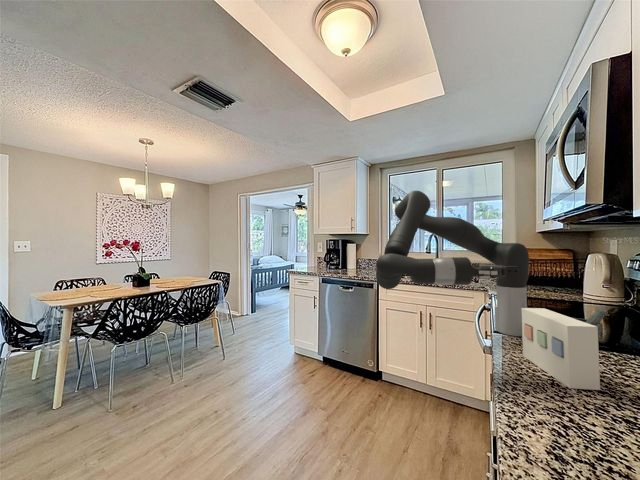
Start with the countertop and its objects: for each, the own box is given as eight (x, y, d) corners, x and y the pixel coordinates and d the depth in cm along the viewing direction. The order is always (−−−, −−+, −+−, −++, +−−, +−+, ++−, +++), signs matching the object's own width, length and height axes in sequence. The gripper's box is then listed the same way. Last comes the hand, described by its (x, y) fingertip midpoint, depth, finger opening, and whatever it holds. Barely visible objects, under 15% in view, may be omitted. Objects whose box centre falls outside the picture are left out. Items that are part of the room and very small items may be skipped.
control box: (569, 388, 63) (567, 325, 64) (523, 355, 82) (521, 307, 82) (600, 390, 62) (597, 326, 63) (545, 356, 81) (544, 308, 81)
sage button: (544, 347, 71) (544, 334, 71) (537, 342, 74) (536, 330, 74) (553, 347, 71) (553, 334, 71) (545, 343, 74) (545, 331, 74)
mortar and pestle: (562, 342, 92) (560, 306, 93) (562, 335, 99) (561, 302, 100) (610, 350, 85) (609, 311, 85) (607, 342, 92) (606, 306, 92)
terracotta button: (530, 339, 77) (530, 327, 77) (524, 335, 80) (524, 324, 80) (539, 339, 77) (538, 328, 77) (532, 336, 80) (531, 324, 80)
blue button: (560, 356, 65) (560, 342, 65) (551, 351, 68) (551, 338, 69) (570, 356, 65) (569, 342, 65) (560, 351, 68) (560, 338, 68)
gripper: (457, 258, 70) (533, 257, 68) (442, 256, 83) (506, 255, 81) (458, 288, 70) (534, 288, 67) (443, 281, 83) (507, 281, 80)
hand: (519, 270), depth 74 cm, fingers closed
